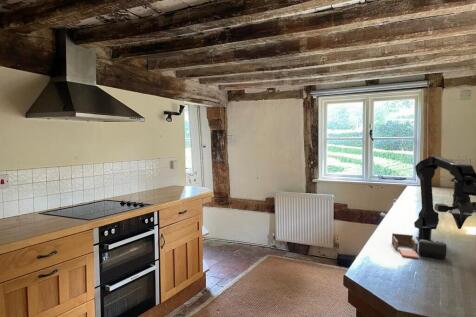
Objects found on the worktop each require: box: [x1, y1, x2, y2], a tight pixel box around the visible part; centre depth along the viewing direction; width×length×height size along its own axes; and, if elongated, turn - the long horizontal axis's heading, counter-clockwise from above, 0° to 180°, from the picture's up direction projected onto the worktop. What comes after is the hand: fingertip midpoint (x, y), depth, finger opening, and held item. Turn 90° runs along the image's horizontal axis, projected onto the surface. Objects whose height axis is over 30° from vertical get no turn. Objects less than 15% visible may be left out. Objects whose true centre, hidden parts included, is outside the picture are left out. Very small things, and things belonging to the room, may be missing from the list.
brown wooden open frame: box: [391, 232, 419, 254], centre depth 153 cm, size 11×9×5 cm
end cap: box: [418, 239, 447, 260], centre depth 142 cm, size 10×7×7 cm
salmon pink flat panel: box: [398, 248, 420, 259], centre depth 144 cm, size 1×7×9 cm
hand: (459, 228), depth 144 cm, fingers closed
